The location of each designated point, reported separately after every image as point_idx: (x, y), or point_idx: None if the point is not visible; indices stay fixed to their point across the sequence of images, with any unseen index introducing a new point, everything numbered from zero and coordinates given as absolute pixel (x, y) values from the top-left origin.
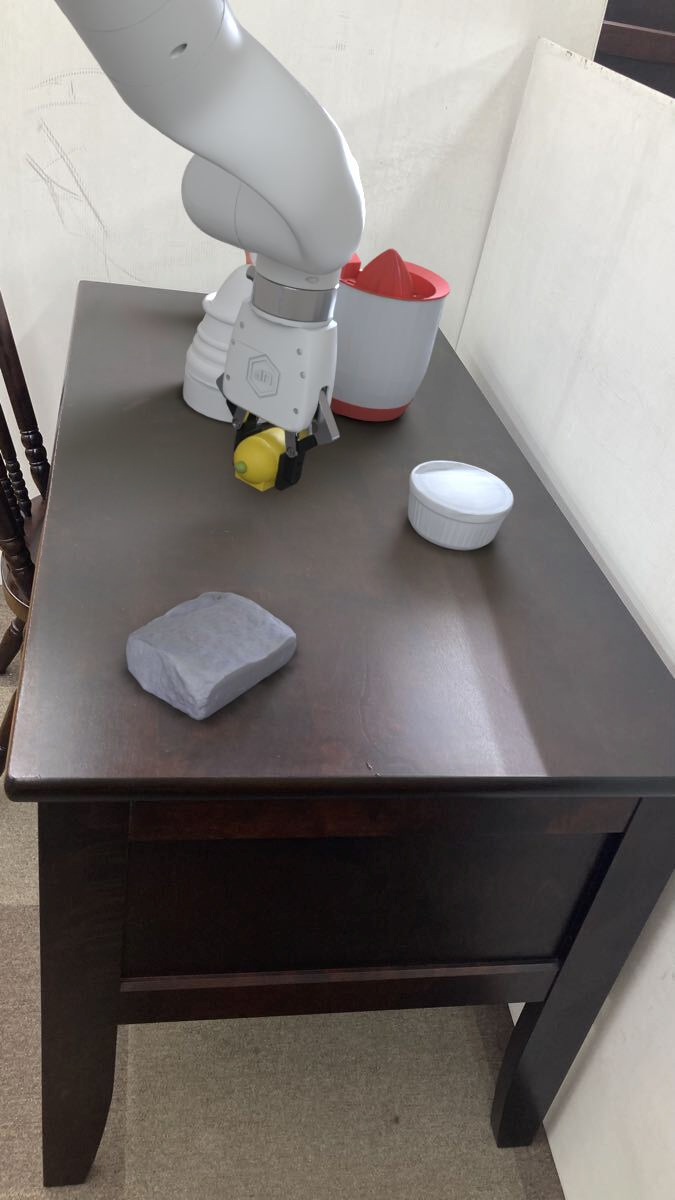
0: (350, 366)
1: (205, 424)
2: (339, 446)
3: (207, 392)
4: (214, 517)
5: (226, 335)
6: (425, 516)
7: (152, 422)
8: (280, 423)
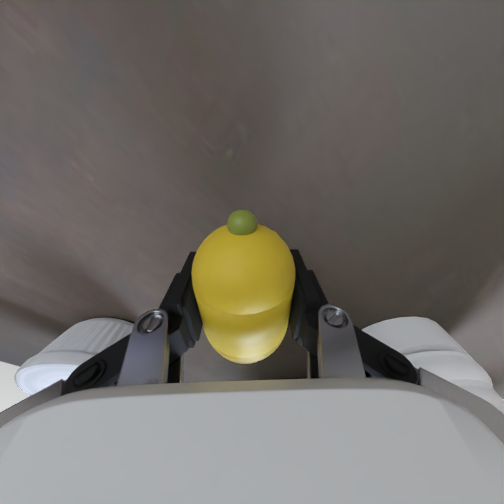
0: None
1: (394, 307)
2: (271, 356)
3: (423, 342)
4: (268, 168)
5: None
6: (86, 339)
7: (455, 272)
8: (91, 418)
